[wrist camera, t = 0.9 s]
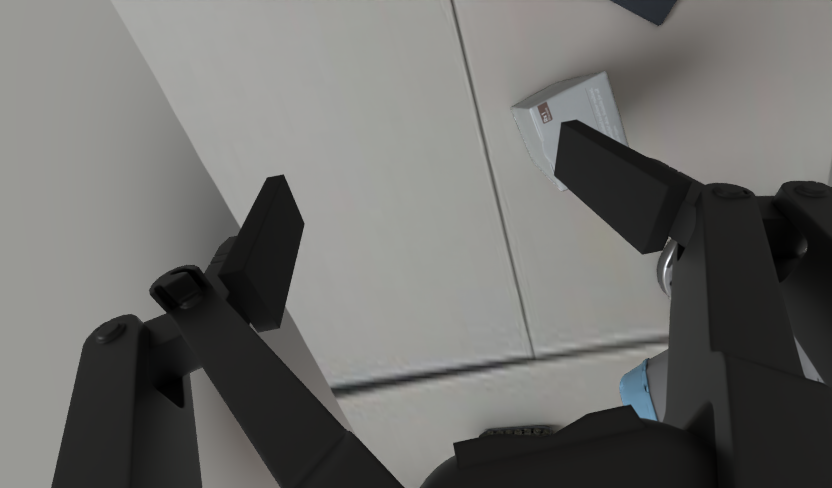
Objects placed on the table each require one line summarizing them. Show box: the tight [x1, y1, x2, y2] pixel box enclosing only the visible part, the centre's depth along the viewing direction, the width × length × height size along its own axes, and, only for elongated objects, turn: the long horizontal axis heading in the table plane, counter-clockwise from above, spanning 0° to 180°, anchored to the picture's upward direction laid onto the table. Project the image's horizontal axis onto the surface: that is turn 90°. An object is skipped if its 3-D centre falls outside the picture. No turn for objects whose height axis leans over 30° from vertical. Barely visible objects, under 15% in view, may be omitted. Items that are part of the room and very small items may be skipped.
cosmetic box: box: [511, 71, 629, 191], centre depth 34 cm, size 8×7×16 cm
